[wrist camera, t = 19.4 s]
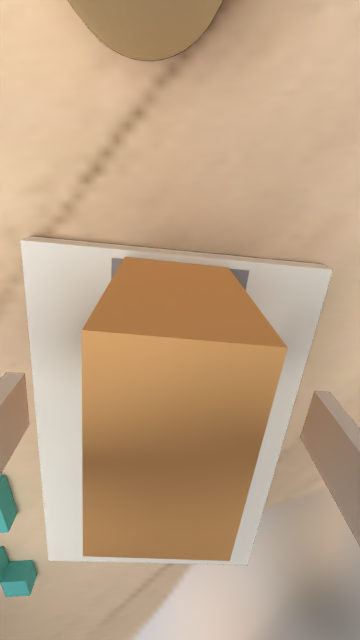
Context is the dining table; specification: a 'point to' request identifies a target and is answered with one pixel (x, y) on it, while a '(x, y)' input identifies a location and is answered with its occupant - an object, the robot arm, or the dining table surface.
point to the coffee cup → (147, 24)
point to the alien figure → (10, 574)
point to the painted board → (66, 367)
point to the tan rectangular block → (173, 410)
